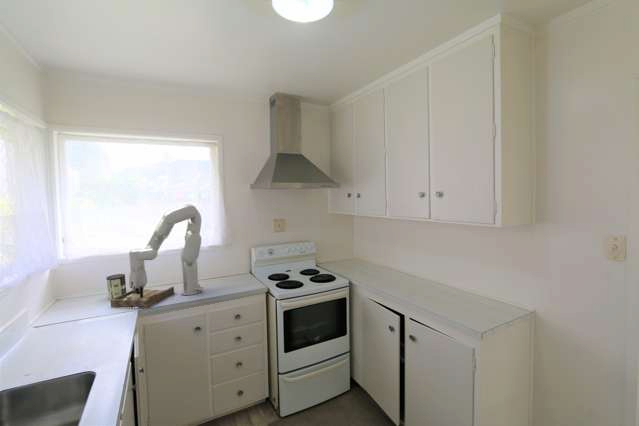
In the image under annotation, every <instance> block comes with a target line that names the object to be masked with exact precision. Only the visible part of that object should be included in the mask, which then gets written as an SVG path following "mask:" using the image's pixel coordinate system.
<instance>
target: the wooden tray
mask: <svg viewBox="0 0 639 426" xmlns="http://www.w3.org/2000/svg"><path fill="white" fill-rule="evenodd" d="M137 289H138V288H137ZM126 292H127V293H125V294H123V295H120V296H118V297H116V298H114V299H112V300H111V299H109V300H110V301H109V303H110V307H111V308H118V307H126V308H127V307H129V308H127V309H134V308H133V307H138V308H137V309H143V308H147V307H149V306H151V305H153V304H154V305H156V304H158V303H159V301H160V302H161V301H163V300H165V299H167V298H168V297H170V296H172V295H174V294H175V287H174V286H171V287H169V288H168V289H144V290H143V297H142V298H140V300H127V298H126V297H127V296H129V295H131V294H137V292H136V291H132V290H129V291H126ZM157 302H158V303H157ZM155 303H156V304H155ZM154 305H153V306H154ZM130 307H131V308H130ZM151 307H152V306H151ZM126 308H125V309H126ZM149 308H150V307H149ZM147 309H148V308H147Z"/></svg>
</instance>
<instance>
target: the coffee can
mask: <svg viewBox="0 0 639 426" xmlns="http://www.w3.org/2000/svg"><path fill="white" fill-rule="evenodd" d="M105 280H106V285H107V286H106V287H107V295H108V298H107V299H108V300H112V299H114V298H116V297H118V296H120V295H123V294H125V293H127V292H128V291H127V283H126V274H124V273H117V274H111V275H109V276H106V278H105Z"/></svg>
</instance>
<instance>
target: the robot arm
mask: <svg viewBox="0 0 639 426" xmlns="http://www.w3.org/2000/svg"><path fill="white" fill-rule="evenodd" d="M184 221H187V225H186V226H187V227H186V232H185V235H184V241H185V242H184V247H183V248H182V249H181V251H180V262H181V268H182V269H181V272H182V285H183V287H182V288H183V289H182V290H181V292H180V293H181V295H182V296H192V295H196V294H199V293H200V292H202V291H203V290H204V286H201V284H199V272H198V259H199V254H200V251H201V246H202V236H201V235H200V233H201V228H202V216H201V214H200V212H199V210H198V209H197V207H196V206H195V205H193V204H190V203H189V204H184V205H183V206H182V207H180V208H176V209H173V210H168V211H165V212H164V213H163V215H162V217H161V219H160V221H159V223H158V225H157V226H156V228H155V230H154V232H153V233H152V236H151V237H150V239H149V241H148V243H147V244H146V246H145V248H144V249H141V248H135V249H134V248H133V249H131V250H129V252H128V254H129V255H128V256H129V267H130V272H129V276H128V286H129V287H128V288H129V289H131V291H136V292H137V294H140V298H142V297H143V290H145V287H146V286H147V284H148V275H147V270H146V269H145V268H146V265H145V261H153V260H155V259H156V258H157V257H158V251H159V250H160V248H161V246H162V244H163V242H164V241H165V240H166V239H167V238H168V237H169V236H170V235H171V232H172V231H173V228H174V226H175V225H176V224H179V223H181V222H184ZM137 288H138V289H137Z"/></svg>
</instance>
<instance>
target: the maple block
mask: <svg viewBox="0 0 639 426" xmlns="http://www.w3.org/2000/svg"><path fill="white" fill-rule="evenodd" d="M126 298H127V300H140V294H131V295H129V296H127V297H126Z"/></svg>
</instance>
